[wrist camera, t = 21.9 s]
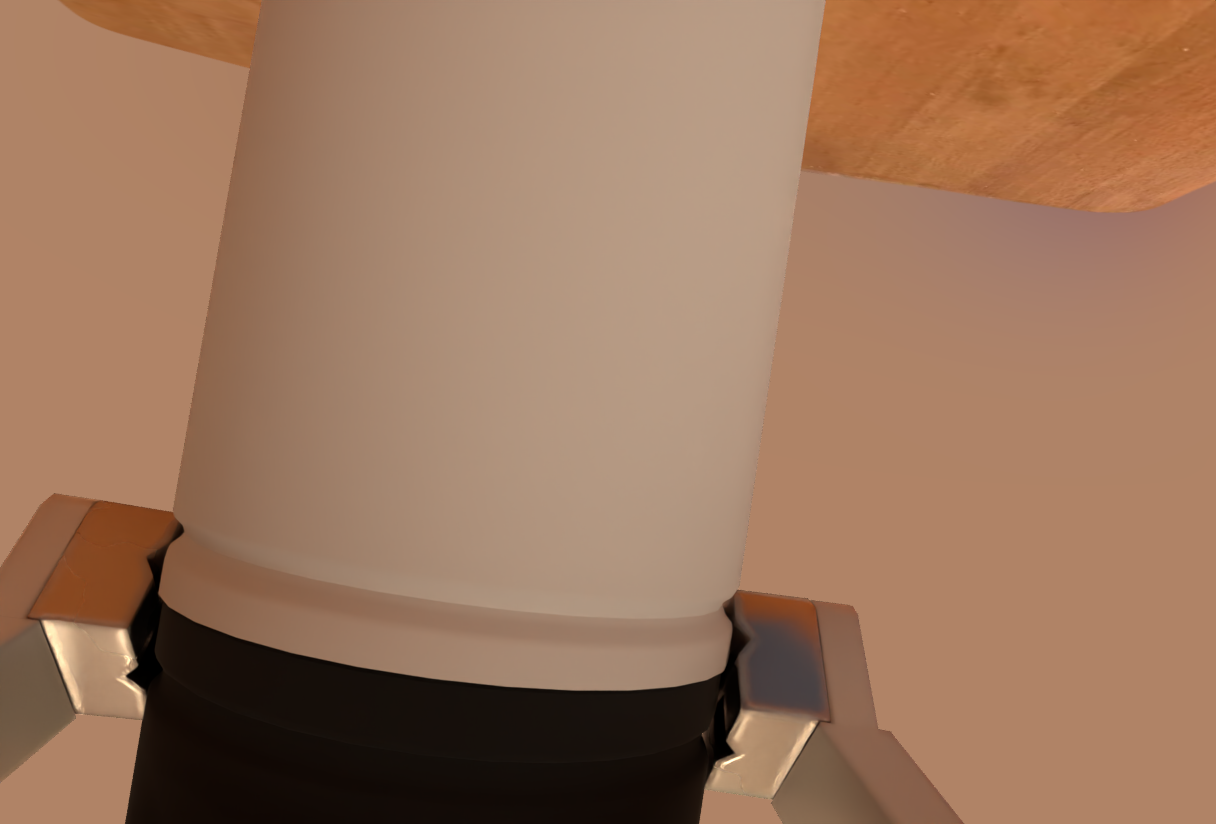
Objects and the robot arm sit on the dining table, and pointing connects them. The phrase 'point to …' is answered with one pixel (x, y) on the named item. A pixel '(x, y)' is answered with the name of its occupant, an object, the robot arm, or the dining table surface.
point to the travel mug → (477, 412)
